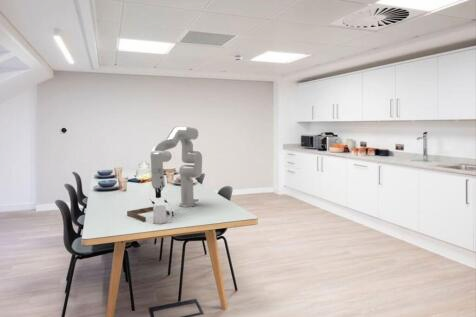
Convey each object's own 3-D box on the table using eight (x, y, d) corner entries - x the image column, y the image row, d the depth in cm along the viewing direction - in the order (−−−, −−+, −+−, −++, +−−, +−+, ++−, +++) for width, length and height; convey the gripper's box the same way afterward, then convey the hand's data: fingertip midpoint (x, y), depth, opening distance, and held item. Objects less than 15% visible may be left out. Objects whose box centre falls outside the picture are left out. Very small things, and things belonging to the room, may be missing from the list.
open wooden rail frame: (155, 210, 270) (155, 206, 270) (173, 215, 252) (173, 211, 252) (127, 215, 255) (127, 211, 255) (144, 222, 237) (144, 217, 237)
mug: (173, 220, 240) (172, 205, 239) (170, 224, 232) (170, 208, 231) (155, 220, 241) (154, 205, 240) (152, 224, 233) (151, 208, 231)
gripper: (168, 171, 240) (169, 198, 242) (156, 168, 251) (157, 195, 253) (158, 172, 235) (159, 200, 237) (146, 170, 245) (147, 196, 248)
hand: (158, 197), depth 245 cm, fingers closed
